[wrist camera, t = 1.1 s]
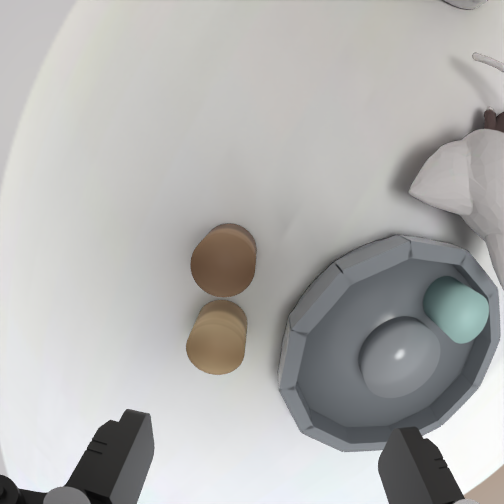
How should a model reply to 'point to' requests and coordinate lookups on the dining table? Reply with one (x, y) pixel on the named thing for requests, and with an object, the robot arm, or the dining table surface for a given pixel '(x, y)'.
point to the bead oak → (218, 338)
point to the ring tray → (351, 321)
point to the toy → (471, 180)
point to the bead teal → (456, 309)
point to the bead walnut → (224, 261)
